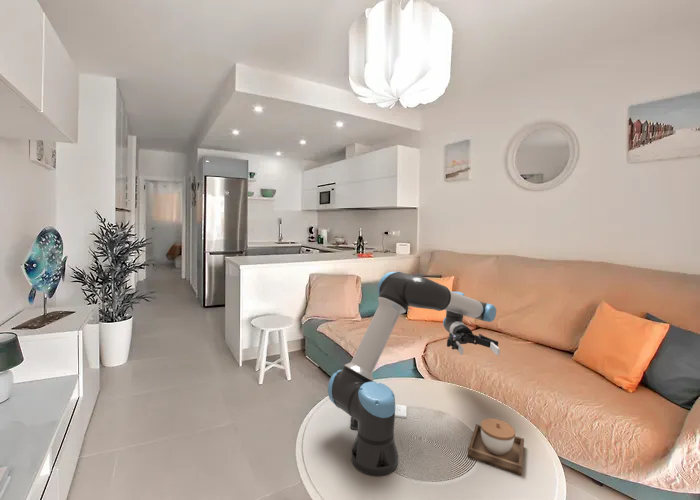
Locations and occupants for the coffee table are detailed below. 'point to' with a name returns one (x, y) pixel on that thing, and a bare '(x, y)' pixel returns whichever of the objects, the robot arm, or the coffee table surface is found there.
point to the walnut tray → (505, 462)
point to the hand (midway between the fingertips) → (480, 351)
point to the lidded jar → (497, 436)
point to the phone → (354, 424)
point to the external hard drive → (400, 411)
